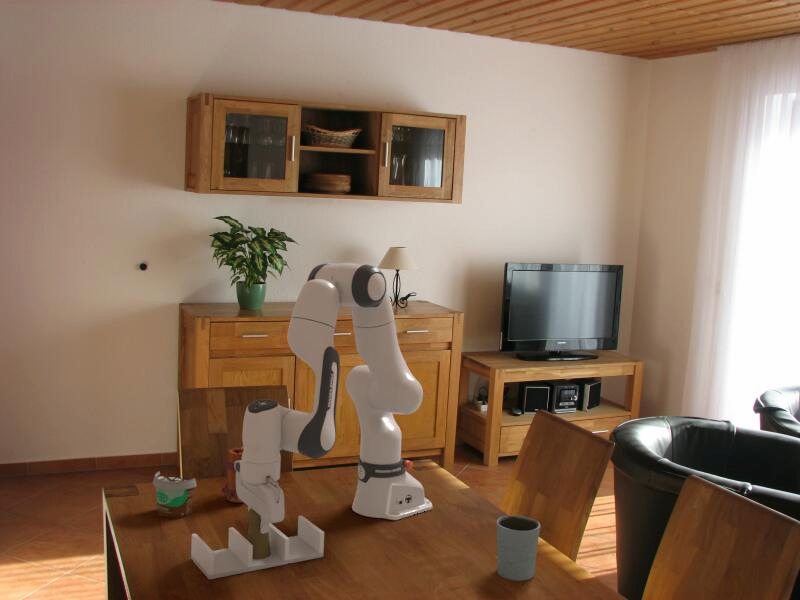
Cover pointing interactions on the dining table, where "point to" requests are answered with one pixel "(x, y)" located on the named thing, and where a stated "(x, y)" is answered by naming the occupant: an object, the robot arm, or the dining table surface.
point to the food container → (174, 495)
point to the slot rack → (241, 551)
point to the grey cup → (517, 547)
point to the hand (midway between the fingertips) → (259, 528)
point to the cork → (257, 536)
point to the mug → (232, 474)
